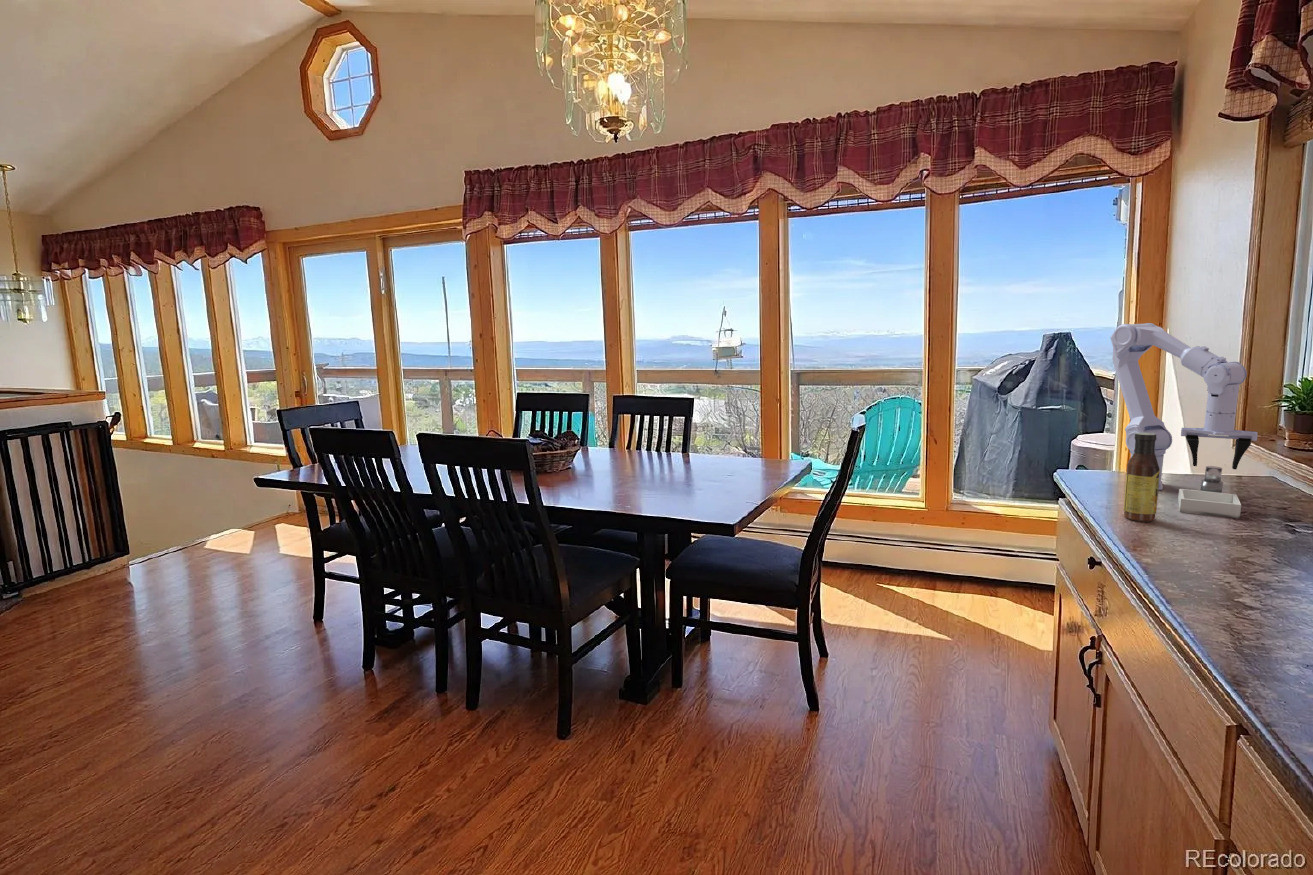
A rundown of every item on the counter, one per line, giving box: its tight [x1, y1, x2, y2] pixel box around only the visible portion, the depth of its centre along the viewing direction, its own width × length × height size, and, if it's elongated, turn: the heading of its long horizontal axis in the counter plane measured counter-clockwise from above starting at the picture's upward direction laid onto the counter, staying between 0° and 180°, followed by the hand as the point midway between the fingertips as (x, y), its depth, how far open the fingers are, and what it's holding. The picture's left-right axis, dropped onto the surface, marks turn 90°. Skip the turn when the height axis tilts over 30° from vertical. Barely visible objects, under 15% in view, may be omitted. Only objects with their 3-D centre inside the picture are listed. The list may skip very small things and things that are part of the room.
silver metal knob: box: [1199, 465, 1224, 493], centre depth 173 cm, size 4×4×7 cm
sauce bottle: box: [1123, 433, 1160, 522], centre depth 160 cm, size 7×6×20 cm
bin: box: [1177, 488, 1242, 520], centre depth 167 cm, size 11×11×3 cm
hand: (1214, 467), depth 173 cm, fingers open, 7 cm apart
